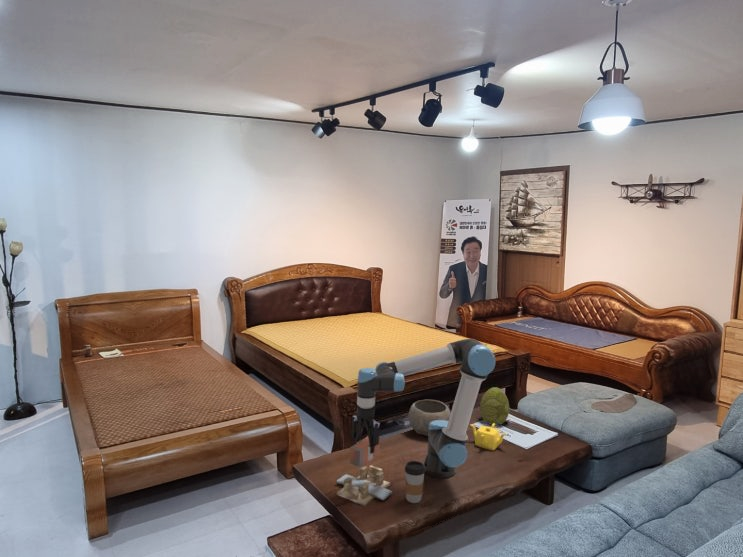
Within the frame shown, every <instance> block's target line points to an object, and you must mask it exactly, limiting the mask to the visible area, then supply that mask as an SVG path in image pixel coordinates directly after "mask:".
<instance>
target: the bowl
mask: <svg viewBox="0 0 743 557" xmlns="http://www.w3.org/2000/svg"><path fill="white" fill-rule="evenodd" d="M450 414H451V410H450V407H449V406H448V405H447V404H446V403H444V402H442V401H440V400H436V399H421V400H417V401H415V402H413V403H412V405H411V406H410V408H409V412H408V416H407V417H408V419H407V420H408V423H409V425H410V427H411V428H412V429H413V430H414V431H415V432H417V433H418V434H420V435H422V436H426V437H428V434H429V429H428V428H429V424H430V422H432V421H435V420H446V421H449V417H450Z"/></svg>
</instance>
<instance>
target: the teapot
mask: <svg viewBox="0 0 743 557" xmlns="http://www.w3.org/2000/svg"><path fill="white" fill-rule="evenodd" d="M469 425H470V426H471V428H472V432H473V437H474V445H475V446H477V447H479V448H481V447H482V449H485V450H489V449H490V451H495V450H496V449H497V448H498V447H499V446H500V444H502V442H503V440H504V437H505V436H506V435H507V433H505V432H503V433H500V430H499V429H497V428H495V426H496V425H495V423H493V424H491V426H485V425H482V426H480V427H479V428H478V429H476V425H473V424H471V423H469Z"/></svg>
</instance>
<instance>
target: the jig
mask: <svg viewBox="0 0 743 557" xmlns="http://www.w3.org/2000/svg"><path fill="white" fill-rule="evenodd" d="M384 476H385V473H384V472H383V468H380V467H378V466H375V465H373V464H370V465H369V466H366V465H365V466H364V465H362V466H361V467H359V475H358V476H357V477H355V476H353V475H350V474H347V473H345V474H344V475H342V476H341V477H340V478H338V479H337V480H336V483H337V484H340V485H342V486H343V487H342V488H341V489H340V490H338V491H336V496H339V497H341V498H344V499H347V500H349V501H351V502H354V503H356V504H360V506H361V505H362V506H367V504H369V503H370V502H371V501H372V500H373V499H375V498H376V499H379V500H382V501H384V500H385V499H387V498H388V497H389V496H390V495H391V494H392V493H393V490H390V489H388V488H387V487H389V486H390V485H391V482H390V481H386V480H385V478H384Z"/></svg>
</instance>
